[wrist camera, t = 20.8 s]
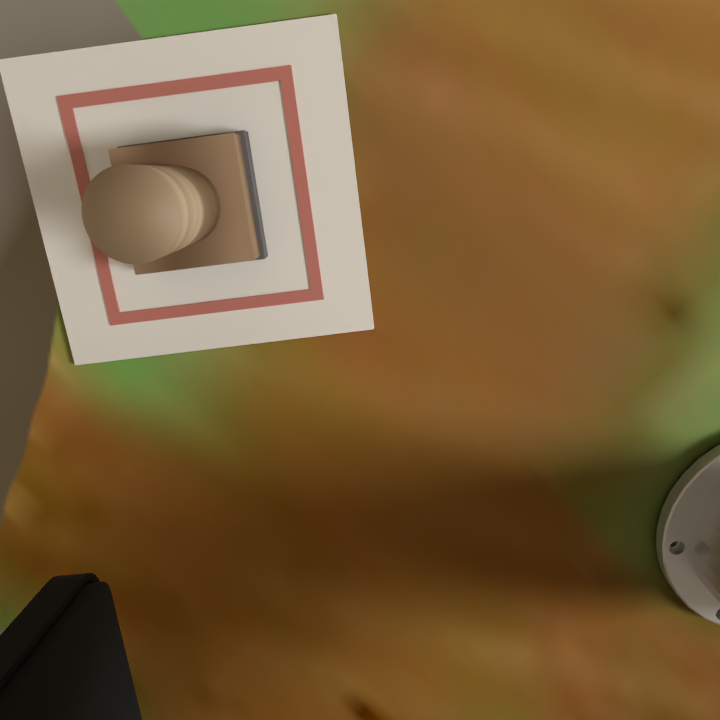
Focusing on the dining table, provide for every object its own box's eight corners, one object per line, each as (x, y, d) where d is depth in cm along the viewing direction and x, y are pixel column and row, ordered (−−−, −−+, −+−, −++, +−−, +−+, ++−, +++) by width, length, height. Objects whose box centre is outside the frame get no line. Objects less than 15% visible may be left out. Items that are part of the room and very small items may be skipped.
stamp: (247, 131, 31) (199, 112, 22) (268, 256, 33) (231, 289, 23) (125, 147, 31) (23, 135, 22) (151, 270, 33) (67, 310, 23)
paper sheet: (336, 15, 30) (336, 13, 30) (374, 327, 34) (374, 329, 34) (0, 60, 30) (-5, 59, 30) (77, 363, 35) (74, 365, 34)
